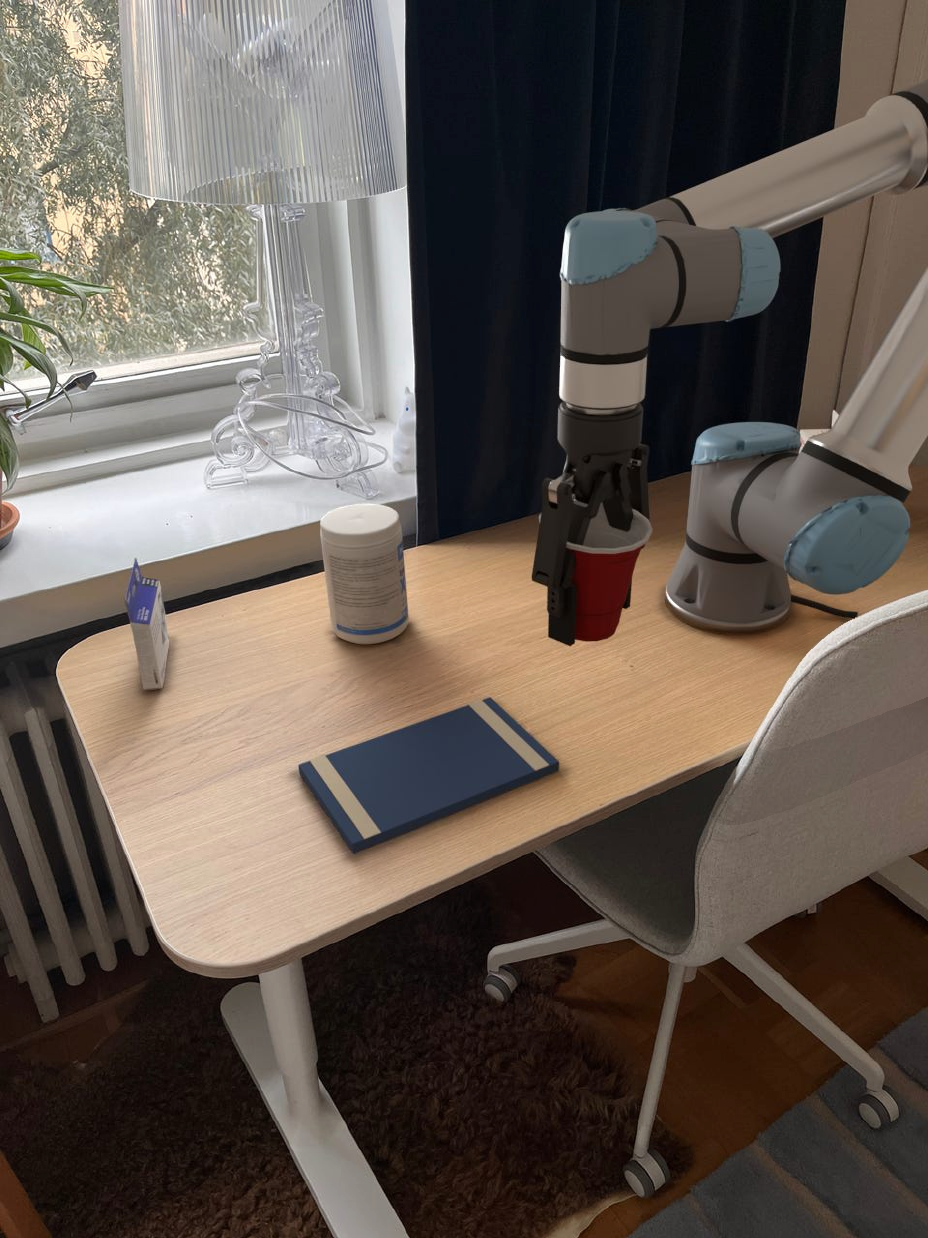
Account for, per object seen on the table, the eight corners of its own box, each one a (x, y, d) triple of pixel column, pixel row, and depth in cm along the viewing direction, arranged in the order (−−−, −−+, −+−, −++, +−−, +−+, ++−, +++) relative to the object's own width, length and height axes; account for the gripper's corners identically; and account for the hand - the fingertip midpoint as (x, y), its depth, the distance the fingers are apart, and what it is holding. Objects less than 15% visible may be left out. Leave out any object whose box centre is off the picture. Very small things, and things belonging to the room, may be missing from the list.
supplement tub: (423, 631, 118) (417, 521, 110) (354, 656, 113) (343, 543, 106) (384, 600, 125) (376, 495, 118) (318, 622, 121) (305, 514, 113)
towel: (490, 705, 104) (490, 695, 103) (559, 771, 94) (559, 760, 94) (299, 774, 95) (297, 763, 94) (353, 854, 85) (352, 843, 84)
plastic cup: (617, 668, 91) (625, 553, 85) (516, 638, 96) (517, 528, 90) (661, 618, 99) (671, 510, 93) (566, 593, 104) (570, 489, 98)
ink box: (165, 690, 108) (145, 600, 103) (143, 692, 108) (122, 602, 102) (172, 638, 118) (154, 553, 112) (152, 640, 118) (134, 555, 112)
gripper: (633, 367, 95) (619, 572, 106) (489, 424, 81) (491, 652, 92) (701, 381, 90) (679, 593, 101) (560, 443, 76) (554, 680, 88)
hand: (590, 621), depth 97 cm, fingers closed on plastic cup, 9 cm apart
